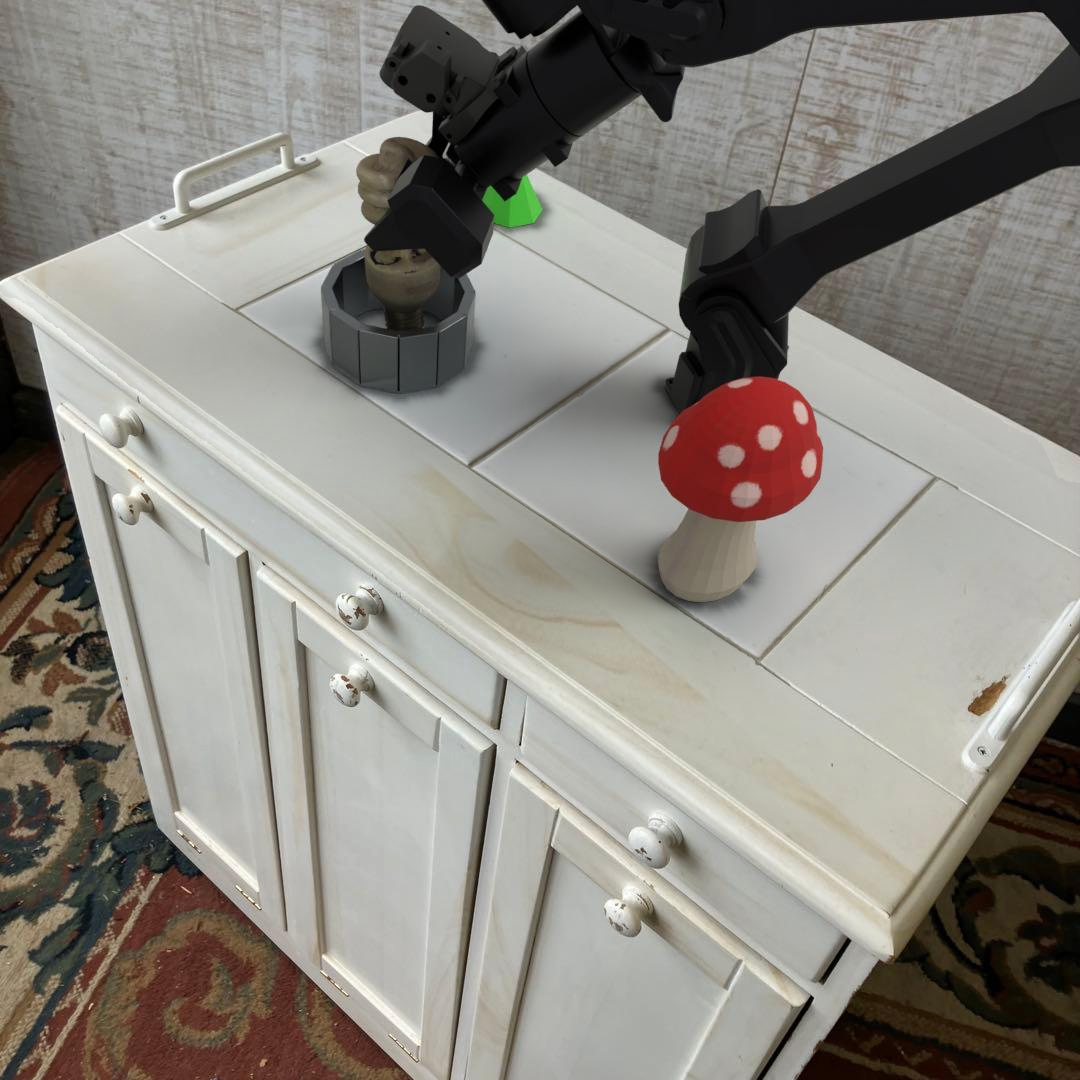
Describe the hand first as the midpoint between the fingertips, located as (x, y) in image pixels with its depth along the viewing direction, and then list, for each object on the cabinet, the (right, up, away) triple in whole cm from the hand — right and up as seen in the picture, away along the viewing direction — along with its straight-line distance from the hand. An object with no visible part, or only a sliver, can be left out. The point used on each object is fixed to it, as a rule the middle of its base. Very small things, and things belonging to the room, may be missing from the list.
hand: (380, 222), depth 73 cm
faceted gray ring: (0, -7, +7) cm, 10 cm away
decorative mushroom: (+21, -24, -4) cm, 32 cm away
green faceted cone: (+8, +7, +21) cm, 24 cm away
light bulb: (+1, -6, +7) cm, 9 cm away
